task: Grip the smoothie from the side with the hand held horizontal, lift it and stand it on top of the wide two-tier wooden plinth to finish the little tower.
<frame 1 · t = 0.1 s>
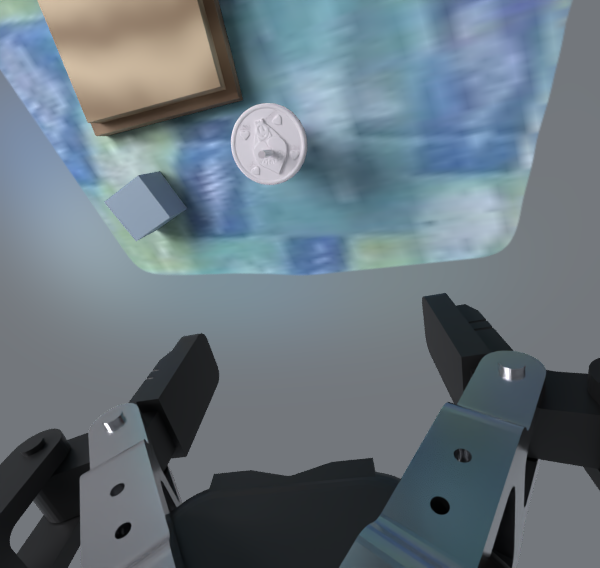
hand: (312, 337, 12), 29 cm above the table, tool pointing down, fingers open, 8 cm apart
slate cube: (158, 201, 41), on the table
smoothie: (282, 143, 37), on the table
plinth: (144, 31, 34), on the table
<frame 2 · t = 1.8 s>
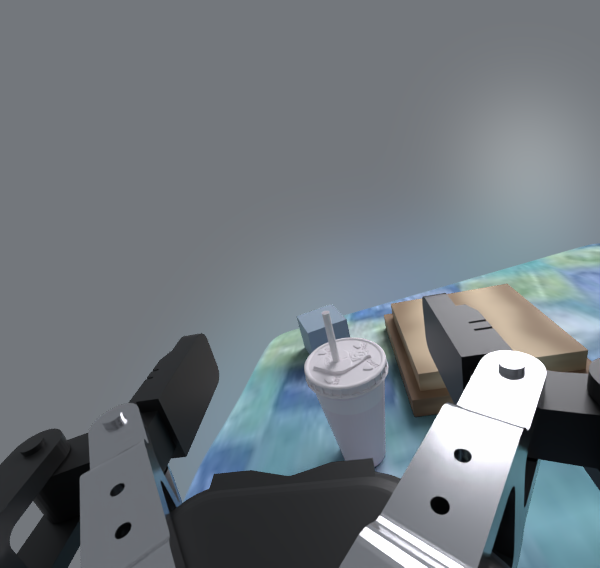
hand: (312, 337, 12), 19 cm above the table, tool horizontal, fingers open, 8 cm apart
slate cube: (328, 350, 45), on the table
smoothie: (364, 451, 30), on the table
plinth: (470, 353, 38), on the table
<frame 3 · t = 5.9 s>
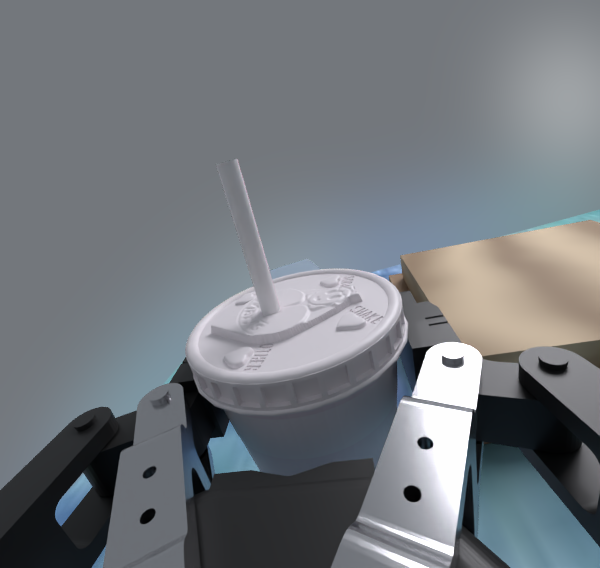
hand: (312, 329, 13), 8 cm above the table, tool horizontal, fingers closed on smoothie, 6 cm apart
slate cube: (301, 329, 29), on the table
smoothie: (350, 526, 14), on the table, touching gripper
plinth: (541, 328, 22), on the table
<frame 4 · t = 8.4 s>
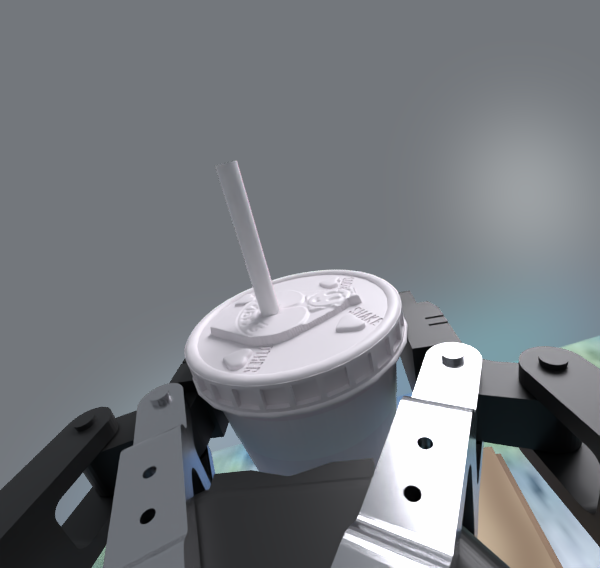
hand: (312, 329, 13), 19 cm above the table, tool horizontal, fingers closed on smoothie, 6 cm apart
smoothie: (350, 527, 14), point 11 cm above the table, touching gripper
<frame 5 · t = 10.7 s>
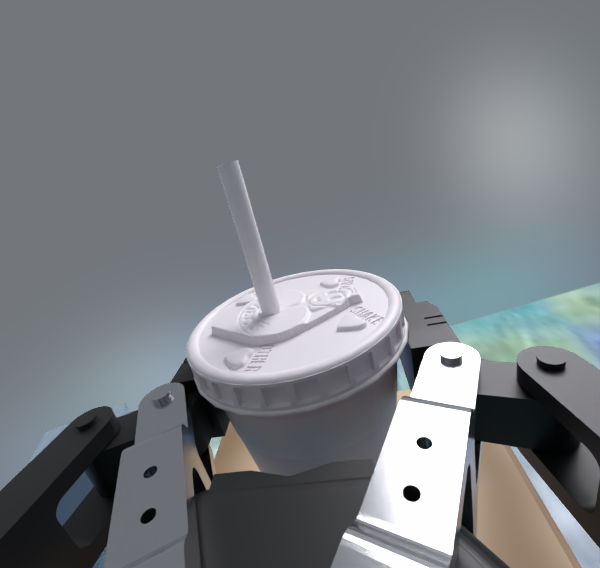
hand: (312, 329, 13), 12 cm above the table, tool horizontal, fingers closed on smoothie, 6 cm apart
slate cube: (110, 500, 22), on the table
smoothie: (350, 526, 14), point 4 cm above the table, touching gripper
when the fingers open (12 cm above the table, at t = 10.9 s): smoothie moves 1 cm, resting on plinth.
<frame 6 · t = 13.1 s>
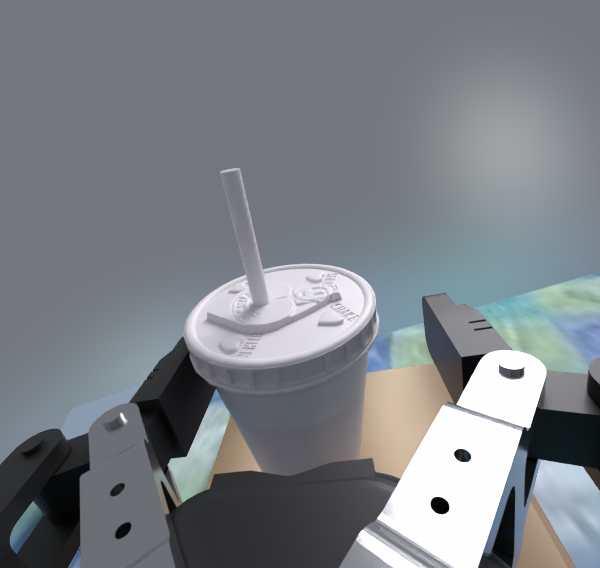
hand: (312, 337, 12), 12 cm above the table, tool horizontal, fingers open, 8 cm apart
slate cube: (129, 471, 24), on the table
smoothie: (318, 487, 16), point 4 cm above the table, touching gripper, plinth
plinth: (359, 527, 18), on the table
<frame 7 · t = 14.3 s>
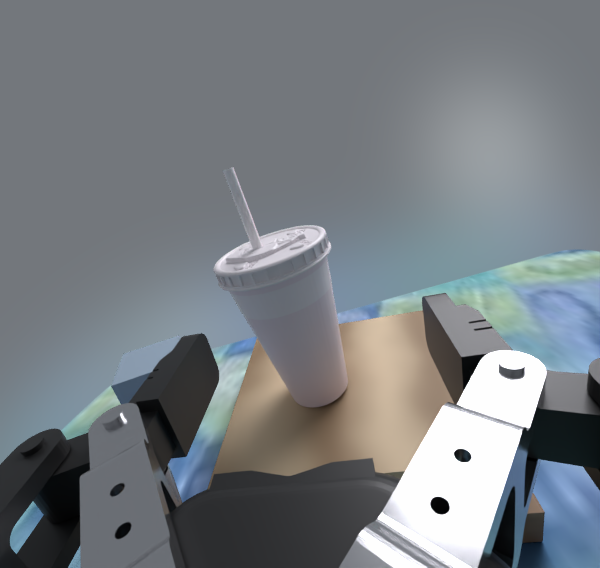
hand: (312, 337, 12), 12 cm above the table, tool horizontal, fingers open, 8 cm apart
slate cube: (169, 403, 31), on the table
smoothie: (320, 387, 22), point 4 cm above the table, touching plinth
plinth: (351, 424, 24), on the table
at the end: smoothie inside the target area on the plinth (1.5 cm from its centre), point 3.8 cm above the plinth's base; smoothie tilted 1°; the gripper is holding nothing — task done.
